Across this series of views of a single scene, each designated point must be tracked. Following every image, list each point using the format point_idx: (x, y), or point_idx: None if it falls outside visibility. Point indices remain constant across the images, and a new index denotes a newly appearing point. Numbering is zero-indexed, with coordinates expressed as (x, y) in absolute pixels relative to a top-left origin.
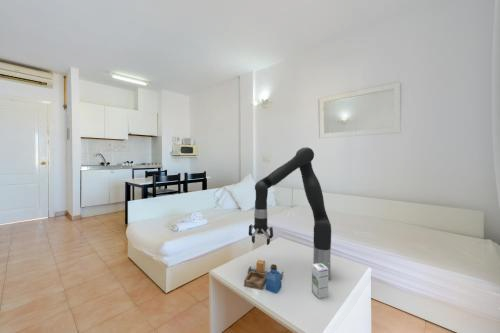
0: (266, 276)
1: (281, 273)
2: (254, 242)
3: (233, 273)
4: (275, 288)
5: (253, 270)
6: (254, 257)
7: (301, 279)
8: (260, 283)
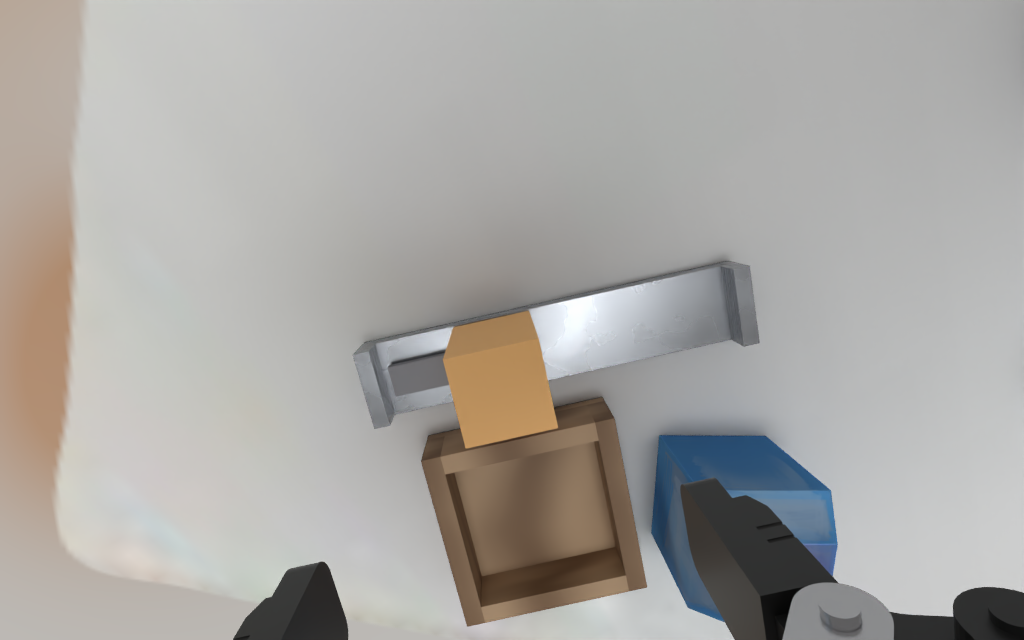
0: (701, 612)
1: (742, 307)
2: (333, 583)
3: (256, 484)
4: None
5: (427, 389)
6: (226, 31)
7: (916, 215)
8: (625, 589)
